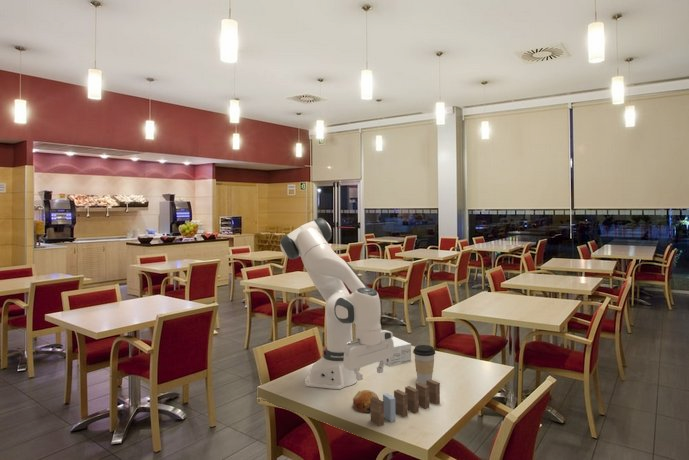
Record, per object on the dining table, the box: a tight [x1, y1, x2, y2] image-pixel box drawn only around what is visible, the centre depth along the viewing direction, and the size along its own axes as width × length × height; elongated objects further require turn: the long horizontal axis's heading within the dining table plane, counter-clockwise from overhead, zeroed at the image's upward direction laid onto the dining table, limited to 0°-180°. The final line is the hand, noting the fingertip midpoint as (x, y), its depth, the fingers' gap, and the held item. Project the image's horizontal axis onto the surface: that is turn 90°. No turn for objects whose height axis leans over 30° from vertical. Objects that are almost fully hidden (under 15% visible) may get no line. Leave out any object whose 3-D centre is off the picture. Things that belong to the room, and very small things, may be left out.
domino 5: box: [415, 382, 430, 410], centre depth 168 cm, size 2×5×8 cm, turn 35°
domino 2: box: [382, 392, 397, 423], centre depth 159 cm, size 2×5×8 cm, turn 27°
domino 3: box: [393, 389, 409, 418], centre depth 162 cm, size 2×5×8 cm, turn 35°
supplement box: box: [385, 335, 412, 367], centre depth 221 cm, size 17×13×9 cm
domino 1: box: [369, 397, 385, 427], centre depth 156 cm, size 2×5×8 cm, turn 35°
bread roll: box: [352, 389, 380, 413], centre depth 169 cm, size 10×10×8 cm
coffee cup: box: [412, 344, 436, 385], centre depth 191 cm, size 9×9×15 cm
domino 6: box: [426, 379, 441, 406], centre depth 172 cm, size 2×5×8 cm, turn 35°
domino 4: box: [404, 385, 420, 414], centre depth 165 cm, size 2×5×8 cm, turn 35°
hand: (369, 376), depth 153 cm, fingers open, 8 cm apart
